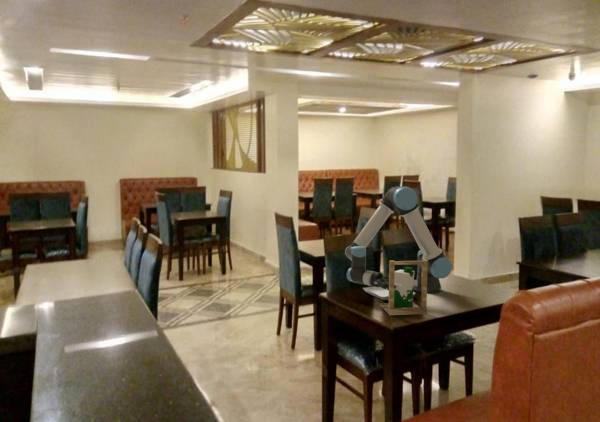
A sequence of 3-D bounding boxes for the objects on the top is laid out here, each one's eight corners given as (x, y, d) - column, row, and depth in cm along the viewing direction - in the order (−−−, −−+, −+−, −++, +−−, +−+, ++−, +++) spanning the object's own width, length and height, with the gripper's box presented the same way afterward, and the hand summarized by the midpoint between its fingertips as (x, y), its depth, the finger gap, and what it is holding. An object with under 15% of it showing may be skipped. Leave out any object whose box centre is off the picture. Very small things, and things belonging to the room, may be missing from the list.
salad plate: (362, 293, 268) (362, 287, 267) (394, 290, 275) (395, 284, 275) (381, 303, 248) (381, 296, 248) (416, 299, 256) (416, 293, 255)
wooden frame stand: (379, 304, 244) (380, 254, 241) (413, 303, 246) (414, 254, 244) (389, 315, 226) (391, 261, 224) (426, 314, 228) (428, 260, 226)
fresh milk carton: (408, 310, 231) (409, 269, 229) (390, 307, 236) (391, 267, 234) (415, 306, 238) (416, 267, 236) (398, 303, 243) (399, 264, 241)
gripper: (386, 282, 258) (422, 288, 243) (359, 290, 239) (395, 298, 225) (387, 268, 257) (422, 274, 242) (359, 275, 239) (396, 282, 224)
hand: (409, 285), depth 234 cm, fingers open, 13 cm apart
